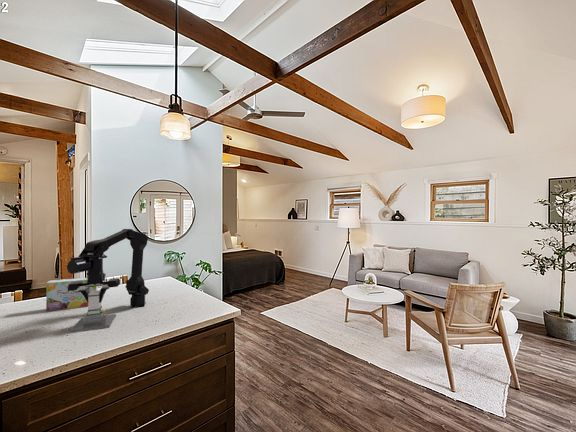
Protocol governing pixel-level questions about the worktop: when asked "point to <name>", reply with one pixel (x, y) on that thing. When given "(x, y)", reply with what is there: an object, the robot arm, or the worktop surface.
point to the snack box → (65, 295)
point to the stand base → (94, 322)
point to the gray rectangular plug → (94, 303)
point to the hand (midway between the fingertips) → (95, 303)
